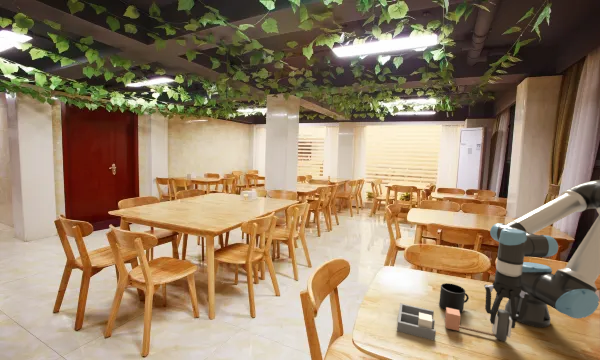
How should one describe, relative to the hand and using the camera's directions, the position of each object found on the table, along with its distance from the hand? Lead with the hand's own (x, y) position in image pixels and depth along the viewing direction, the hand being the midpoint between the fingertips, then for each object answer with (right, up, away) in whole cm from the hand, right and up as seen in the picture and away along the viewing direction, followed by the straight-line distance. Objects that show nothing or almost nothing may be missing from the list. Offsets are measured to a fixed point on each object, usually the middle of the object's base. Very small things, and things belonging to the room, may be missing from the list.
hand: (500, 333), depth 106 cm
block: (-27, -1, +3) cm, 27 cm away
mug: (-6, 0, +21) cm, 22 cm away
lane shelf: (-28, -1, +8) cm, 29 cm away
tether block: (-8, -1, +3) cm, 8 cm away
